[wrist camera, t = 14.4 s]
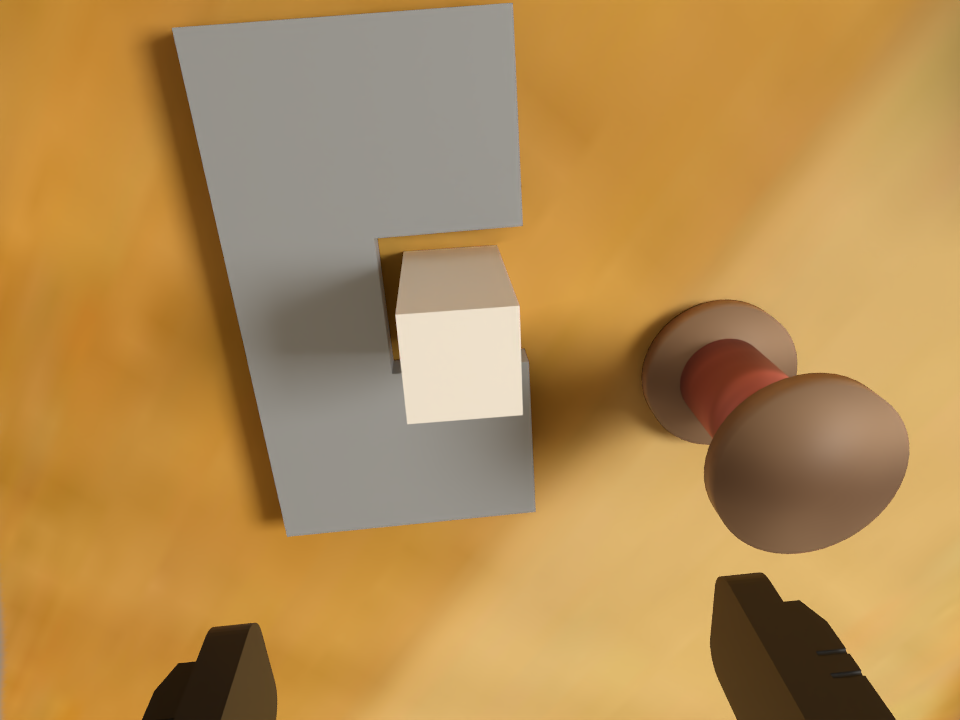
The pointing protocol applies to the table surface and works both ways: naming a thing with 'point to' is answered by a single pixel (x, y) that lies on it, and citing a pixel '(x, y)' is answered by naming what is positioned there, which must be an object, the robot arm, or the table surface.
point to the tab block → (458, 335)
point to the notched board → (358, 243)
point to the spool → (774, 429)
